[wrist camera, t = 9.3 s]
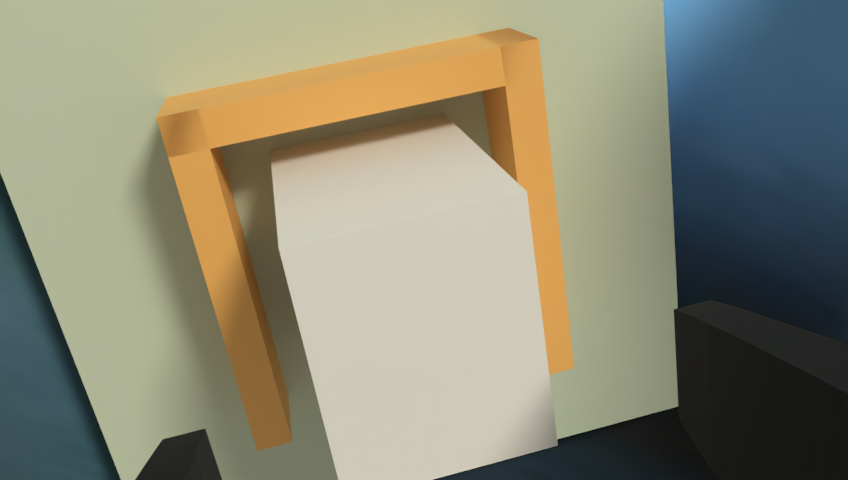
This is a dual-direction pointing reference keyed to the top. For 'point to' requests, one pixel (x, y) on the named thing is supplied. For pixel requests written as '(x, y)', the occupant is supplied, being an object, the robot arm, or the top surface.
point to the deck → (255, 208)
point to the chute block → (414, 300)
